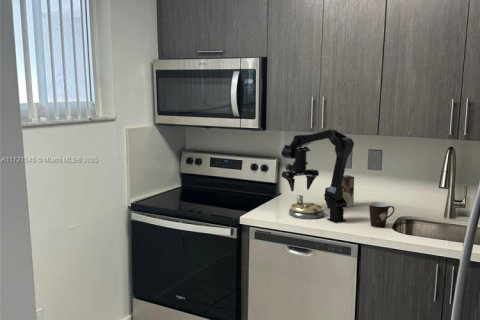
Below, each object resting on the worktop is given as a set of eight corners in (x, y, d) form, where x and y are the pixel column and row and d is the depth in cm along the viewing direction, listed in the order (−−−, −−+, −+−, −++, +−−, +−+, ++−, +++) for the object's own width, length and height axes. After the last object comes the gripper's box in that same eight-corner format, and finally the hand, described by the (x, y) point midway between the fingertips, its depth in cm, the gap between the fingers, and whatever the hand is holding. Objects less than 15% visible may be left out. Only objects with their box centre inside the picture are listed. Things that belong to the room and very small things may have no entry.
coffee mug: (369, 228, 195) (370, 206, 193) (367, 222, 203) (368, 201, 202) (396, 229, 193) (397, 207, 191) (393, 224, 201) (394, 202, 200)
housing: (330, 216, 213) (330, 212, 213) (301, 220, 206) (301, 216, 206) (311, 208, 229) (311, 204, 228) (282, 212, 222) (282, 208, 221)
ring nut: (327, 211, 213) (328, 199, 213) (301, 215, 207) (302, 203, 206) (310, 205, 227) (310, 193, 226) (285, 208, 221) (285, 196, 220)
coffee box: (348, 203, 239) (349, 174, 237) (353, 206, 233) (354, 176, 231) (332, 204, 237) (333, 175, 235) (337, 207, 231) (338, 177, 229)
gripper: (307, 156, 230) (306, 186, 232) (276, 159, 222) (276, 189, 224) (319, 159, 220) (319, 190, 222) (287, 161, 212) (287, 193, 214)
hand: (300, 190), depth 221 cm, fingers open, 9 cm apart
